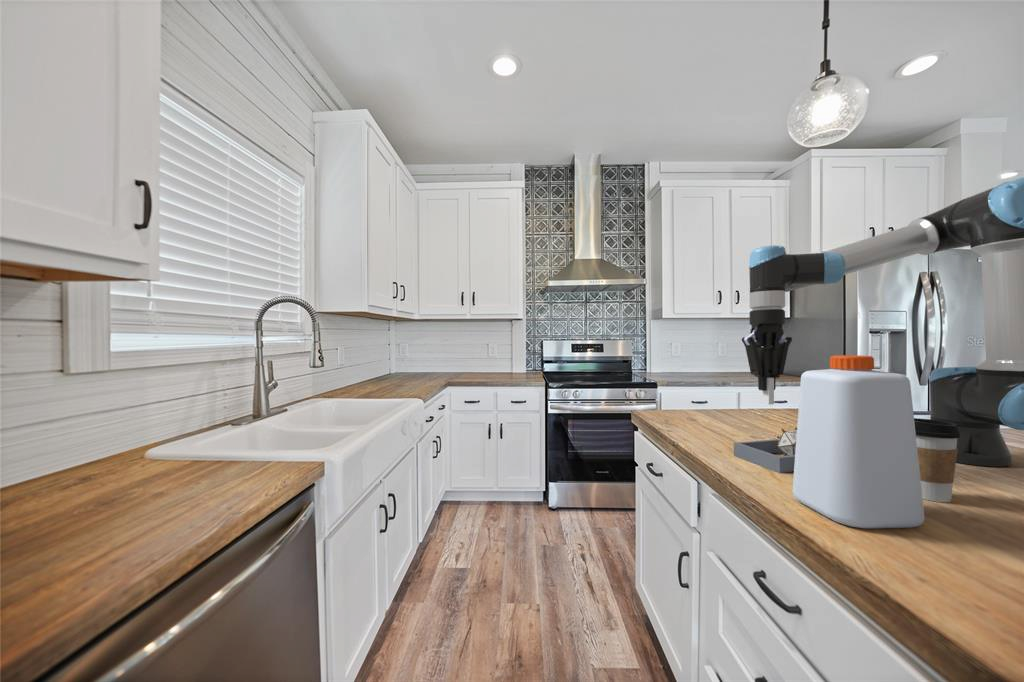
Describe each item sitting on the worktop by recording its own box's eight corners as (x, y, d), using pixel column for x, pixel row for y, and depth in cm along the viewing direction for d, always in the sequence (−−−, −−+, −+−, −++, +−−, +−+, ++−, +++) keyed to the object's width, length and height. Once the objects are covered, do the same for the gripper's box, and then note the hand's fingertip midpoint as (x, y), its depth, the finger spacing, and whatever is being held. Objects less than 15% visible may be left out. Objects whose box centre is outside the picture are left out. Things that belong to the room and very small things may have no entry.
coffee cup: (887, 487, 82) (886, 415, 82) (933, 489, 81) (932, 415, 81) (923, 504, 74) (922, 423, 74) (975, 506, 72) (974, 424, 72)
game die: (804, 476, 99) (830, 451, 94) (769, 463, 101) (793, 437, 95) (796, 451, 106) (820, 426, 101) (764, 438, 108) (785, 413, 102)
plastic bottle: (940, 530, 64) (938, 357, 64) (847, 532, 64) (846, 358, 63) (857, 493, 79) (855, 353, 79) (782, 495, 79) (780, 354, 79)
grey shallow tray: (790, 450, 109) (790, 438, 109) (842, 466, 95) (842, 452, 95) (733, 455, 105) (733, 442, 105) (779, 473, 91) (779, 457, 91)
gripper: (775, 310, 104) (775, 400, 104) (733, 310, 101) (733, 402, 101) (802, 308, 97) (802, 404, 97) (757, 307, 94) (756, 407, 94)
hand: (766, 403), depth 99 cm, fingers closed
